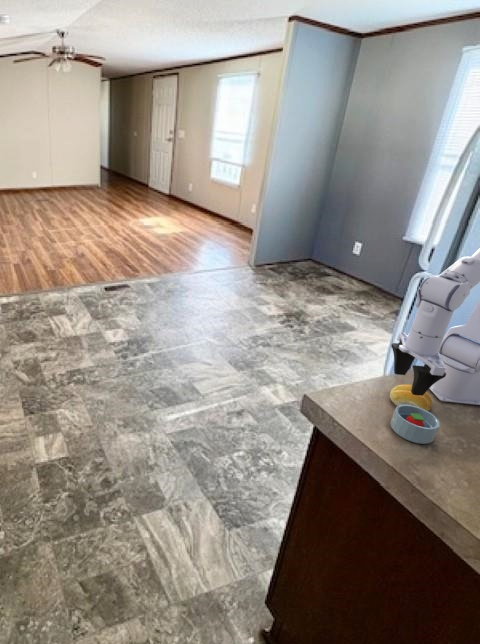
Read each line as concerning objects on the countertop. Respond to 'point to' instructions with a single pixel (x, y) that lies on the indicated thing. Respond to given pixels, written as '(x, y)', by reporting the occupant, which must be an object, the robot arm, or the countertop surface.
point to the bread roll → (410, 397)
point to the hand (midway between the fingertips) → (407, 383)
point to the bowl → (412, 430)
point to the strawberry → (415, 419)
